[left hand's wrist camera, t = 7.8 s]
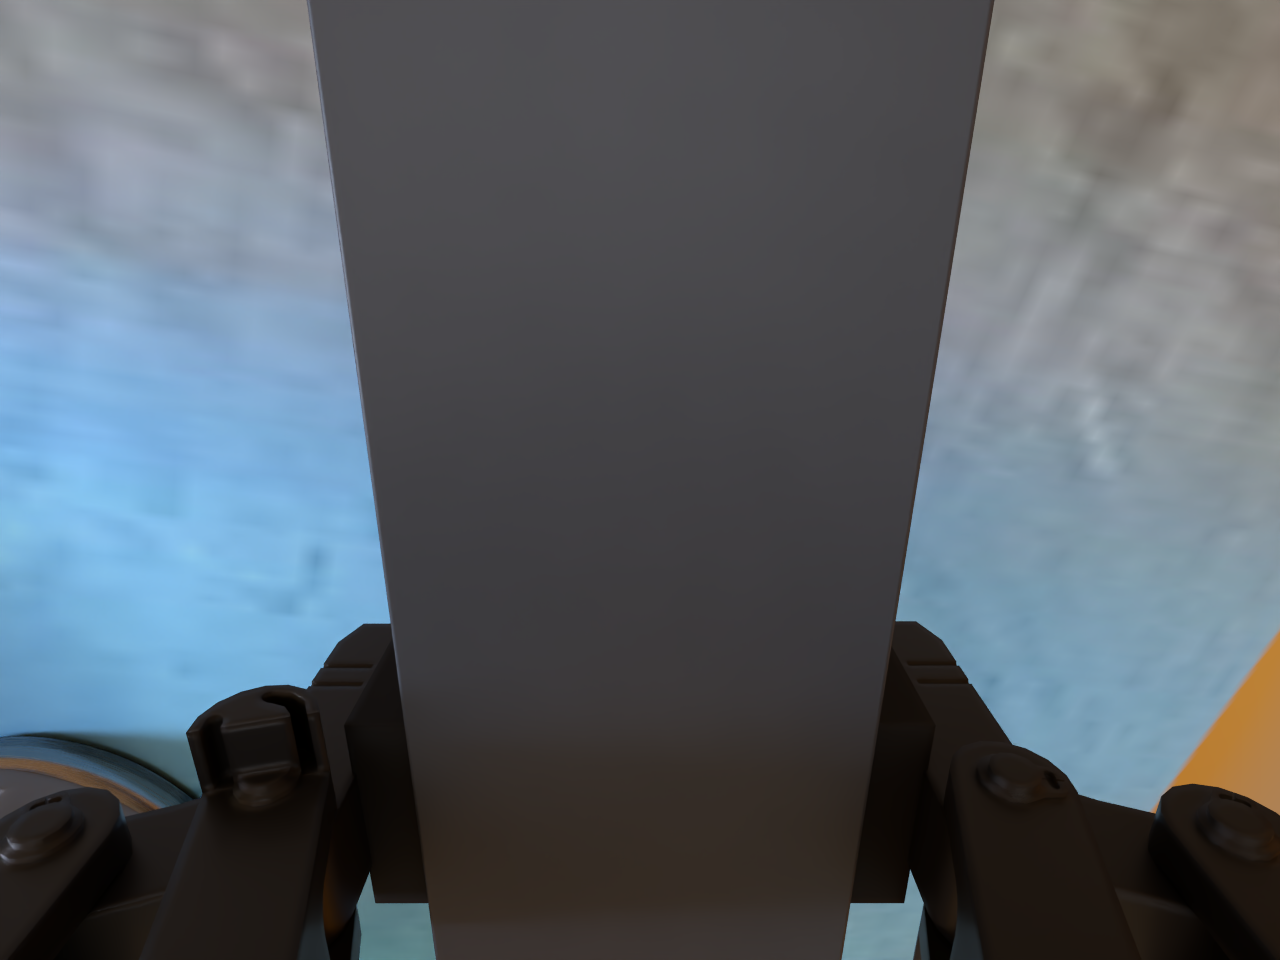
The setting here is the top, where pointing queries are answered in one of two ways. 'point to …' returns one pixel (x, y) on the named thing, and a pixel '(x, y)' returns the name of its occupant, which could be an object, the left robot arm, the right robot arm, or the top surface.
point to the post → (645, 438)
